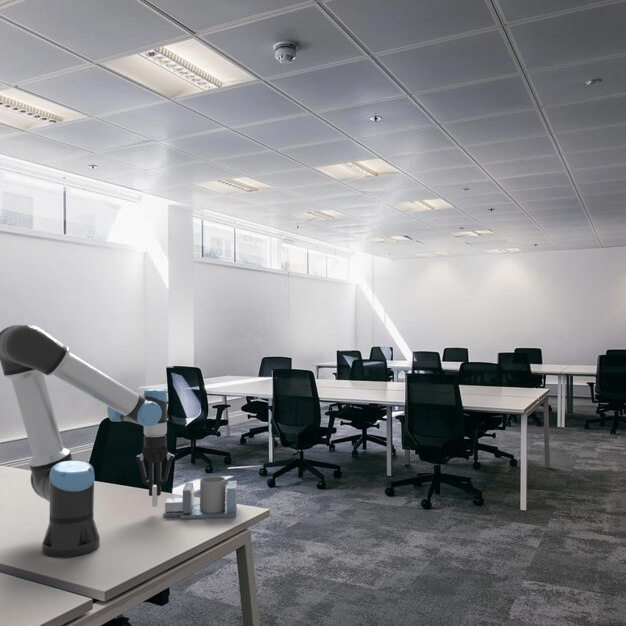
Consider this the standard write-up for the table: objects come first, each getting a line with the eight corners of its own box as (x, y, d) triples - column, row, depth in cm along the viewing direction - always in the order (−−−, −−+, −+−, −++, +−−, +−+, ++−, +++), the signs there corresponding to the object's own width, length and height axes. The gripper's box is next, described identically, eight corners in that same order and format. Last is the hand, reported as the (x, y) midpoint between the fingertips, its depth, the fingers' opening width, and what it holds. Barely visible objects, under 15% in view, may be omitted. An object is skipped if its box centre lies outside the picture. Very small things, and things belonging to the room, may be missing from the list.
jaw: (191, 513, 195) (191, 490, 195) (164, 514, 194) (164, 491, 194) (194, 504, 205) (194, 482, 205) (168, 505, 204) (168, 483, 204)
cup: (221, 513, 196) (221, 482, 196) (197, 512, 197) (197, 482, 197) (227, 505, 204) (227, 476, 205) (204, 504, 205) (204, 476, 205)
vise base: (235, 517, 195) (236, 489, 196) (161, 519, 193) (162, 491, 193) (236, 506, 207) (236, 480, 208) (166, 508, 205) (167, 482, 205)
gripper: (176, 432, 204) (175, 501, 203) (137, 433, 202) (137, 502, 201) (173, 436, 196) (173, 507, 196) (133, 437, 195) (132, 509, 194)
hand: (154, 505), depth 199 cm, fingers closed
